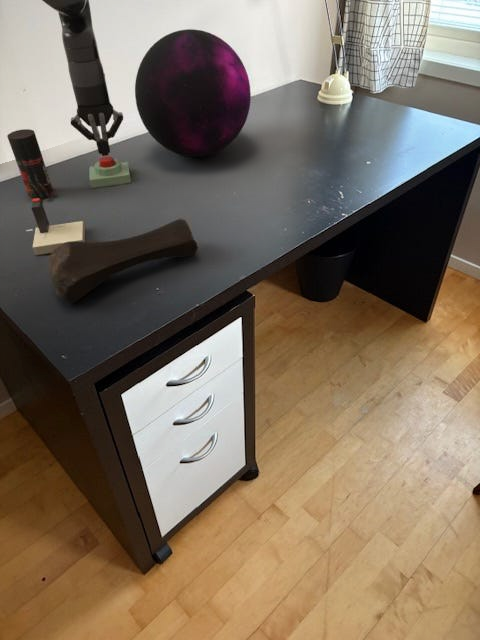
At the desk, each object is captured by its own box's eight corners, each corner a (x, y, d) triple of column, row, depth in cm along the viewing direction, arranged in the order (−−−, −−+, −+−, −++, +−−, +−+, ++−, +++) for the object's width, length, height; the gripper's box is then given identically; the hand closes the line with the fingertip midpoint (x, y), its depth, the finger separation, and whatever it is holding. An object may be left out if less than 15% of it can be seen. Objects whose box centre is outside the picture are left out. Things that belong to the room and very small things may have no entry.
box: (91, 188, 120) (87, 173, 118) (91, 174, 126) (87, 160, 123) (131, 182, 122) (128, 167, 119) (129, 169, 128) (126, 155, 125)
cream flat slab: (26, 256, 98) (22, 248, 97) (30, 230, 106) (27, 221, 104) (84, 247, 100) (82, 239, 98) (85, 222, 108) (82, 213, 106)
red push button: (100, 169, 120) (99, 162, 119) (100, 163, 123) (99, 157, 121) (115, 167, 120) (113, 160, 119) (114, 161, 123) (113, 155, 122)
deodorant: (54, 197, 117) (35, 136, 107) (29, 202, 116) (7, 140, 106) (52, 187, 122) (33, 127, 111) (28, 191, 120) (6, 132, 110)
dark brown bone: (59, 314, 87) (194, 276, 100) (58, 286, 78) (207, 248, 91) (40, 265, 90) (173, 234, 103) (37, 233, 81) (184, 203, 94)
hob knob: (48, 232, 101) (38, 205, 97) (40, 233, 101) (30, 206, 97) (49, 223, 104) (40, 197, 100) (41, 224, 103) (32, 198, 99)
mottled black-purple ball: (270, 160, 129) (271, 33, 109) (165, 185, 120) (145, 52, 100) (225, 125, 149) (219, 13, 129) (133, 145, 140) (110, 27, 120)
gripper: (57, 88, 104) (78, 164, 116) (118, 82, 106) (132, 157, 118) (59, 78, 110) (78, 152, 122) (117, 73, 112) (130, 145, 124)
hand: (105, 154), depth 120 cm, fingers closed
